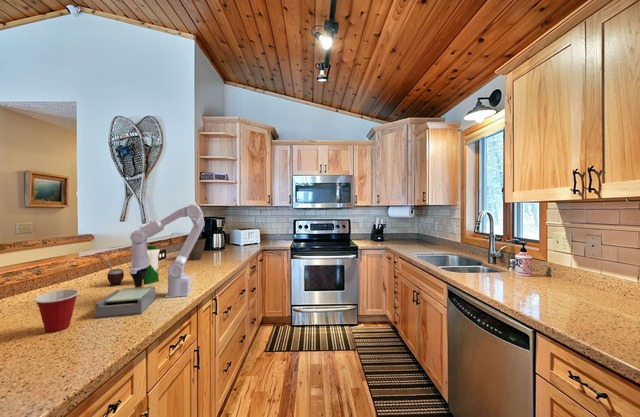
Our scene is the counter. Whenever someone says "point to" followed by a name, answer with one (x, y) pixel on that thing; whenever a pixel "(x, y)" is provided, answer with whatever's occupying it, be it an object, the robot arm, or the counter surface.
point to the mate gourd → (115, 276)
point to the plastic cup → (57, 309)
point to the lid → (130, 293)
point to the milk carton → (152, 265)
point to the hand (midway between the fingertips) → (139, 286)
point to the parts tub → (123, 305)
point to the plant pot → (197, 250)
